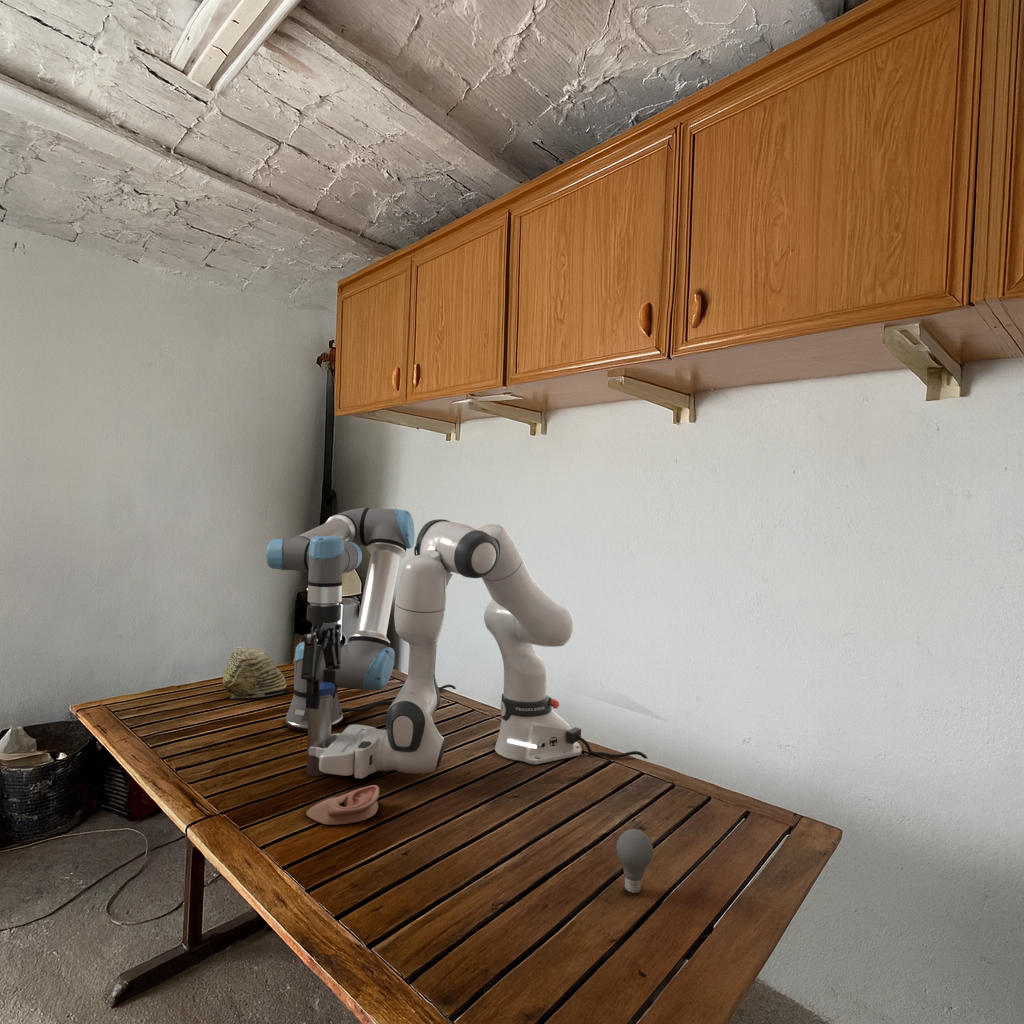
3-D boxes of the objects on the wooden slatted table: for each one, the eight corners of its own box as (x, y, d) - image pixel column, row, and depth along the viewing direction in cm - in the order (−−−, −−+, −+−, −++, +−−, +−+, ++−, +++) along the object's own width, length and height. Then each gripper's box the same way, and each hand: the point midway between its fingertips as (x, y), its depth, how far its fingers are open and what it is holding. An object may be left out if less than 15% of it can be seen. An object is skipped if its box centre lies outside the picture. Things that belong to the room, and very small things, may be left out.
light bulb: (610, 879, 108) (613, 822, 108) (644, 879, 109) (647, 822, 109) (619, 902, 102) (622, 840, 102) (655, 901, 103) (658, 840, 103)
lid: (304, 690, 147) (305, 683, 147) (331, 687, 150) (331, 680, 150) (310, 697, 142) (310, 690, 141) (337, 694, 144) (337, 687, 144)
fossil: (218, 695, 195) (220, 647, 195) (278, 685, 208) (279, 640, 207) (228, 703, 189) (230, 653, 188) (289, 692, 201) (290, 645, 201)
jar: (314, 765, 149) (317, 685, 149) (333, 768, 148) (336, 687, 147) (301, 774, 144) (304, 691, 144) (321, 777, 143) (325, 694, 142)
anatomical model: (298, 800, 123) (327, 775, 135) (298, 820, 123) (326, 794, 135) (362, 810, 121) (386, 784, 132) (361, 830, 121) (385, 803, 132)
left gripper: (329, 596, 156) (325, 688, 156) (286, 609, 136) (282, 715, 136) (358, 598, 154) (354, 691, 155) (318, 611, 135) (314, 718, 135)
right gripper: (387, 720, 155) (332, 715, 156) (360, 753, 135) (297, 748, 136) (386, 745, 155) (331, 741, 156) (358, 782, 135) (296, 777, 136)
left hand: (320, 702), depth 146 cm, fingers open, 7 cm apart
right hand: (315, 744), depth 146 cm, fingers closed on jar, 5 cm apart
